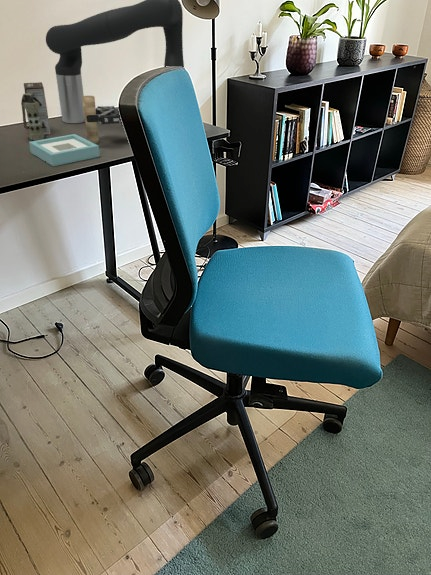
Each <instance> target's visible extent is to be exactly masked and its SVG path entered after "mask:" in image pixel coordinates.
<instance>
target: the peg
mask: <svg viewBox="0 0 431 575" xmlns="http://www.w3.org/2000/svg"><path fill="white" fill-rule="evenodd" d="M95 97H96V96H94V95H84V96H82V100H83V109H84V118H85V122H84V123H85V124H84V125H85V134H86V140H88V141H90V142H92V143H94V144H96V145H97V144H99V143H100V138H99V128H98V122H87V117H86V116H87V115H97V114H96V108H97V106H96V98H95Z"/></svg>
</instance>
